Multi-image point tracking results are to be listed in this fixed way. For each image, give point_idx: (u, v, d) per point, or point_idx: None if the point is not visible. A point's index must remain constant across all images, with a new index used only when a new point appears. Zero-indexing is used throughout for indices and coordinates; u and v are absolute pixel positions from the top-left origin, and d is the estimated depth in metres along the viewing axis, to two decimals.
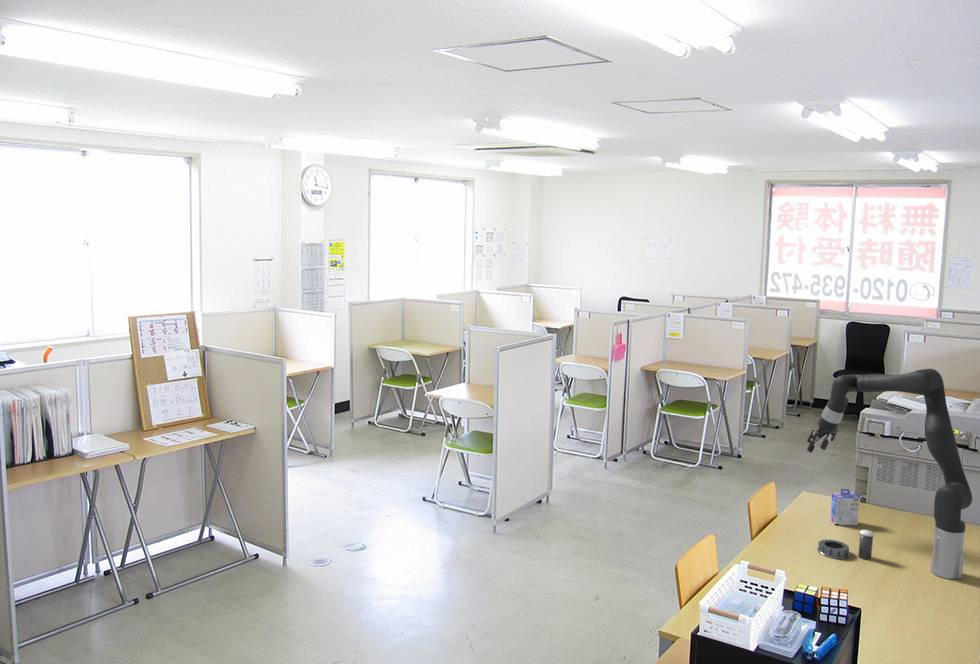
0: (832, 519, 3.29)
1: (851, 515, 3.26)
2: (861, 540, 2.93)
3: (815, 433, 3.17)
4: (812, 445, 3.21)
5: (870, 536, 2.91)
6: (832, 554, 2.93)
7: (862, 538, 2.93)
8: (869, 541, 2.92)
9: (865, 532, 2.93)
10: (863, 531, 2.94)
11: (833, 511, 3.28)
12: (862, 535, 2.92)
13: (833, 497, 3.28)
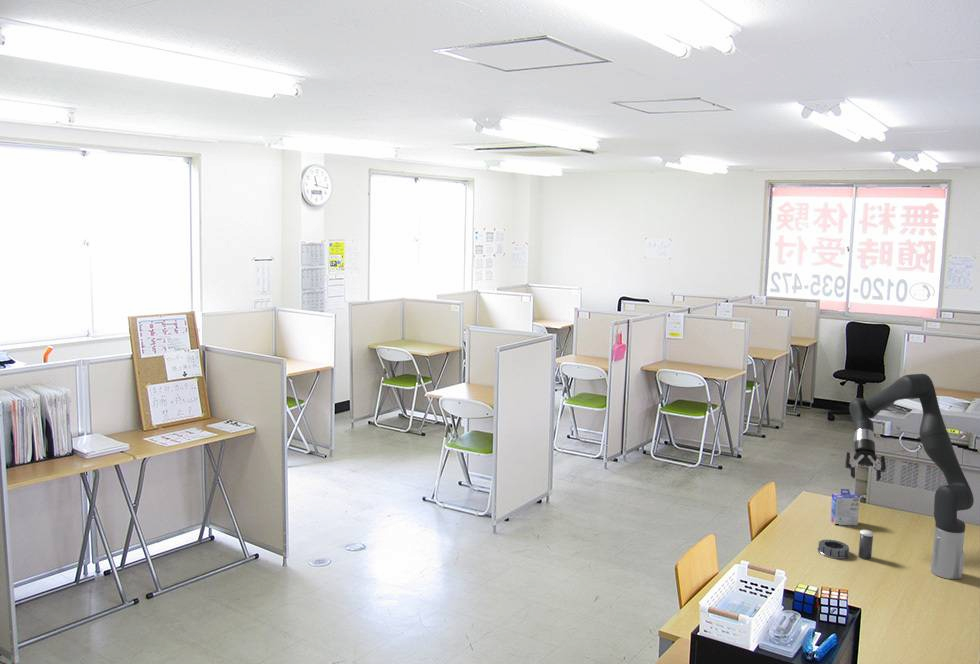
0: (832, 519, 3.29)
1: (851, 515, 3.26)
2: (861, 540, 2.93)
3: (846, 454, 3.11)
4: (851, 468, 3.07)
5: (870, 536, 2.91)
6: (832, 554, 2.93)
7: (862, 538, 2.93)
8: (869, 541, 2.92)
9: (865, 532, 2.93)
10: (863, 531, 2.94)
11: (833, 511, 3.28)
12: (862, 535, 2.92)
13: (833, 497, 3.28)
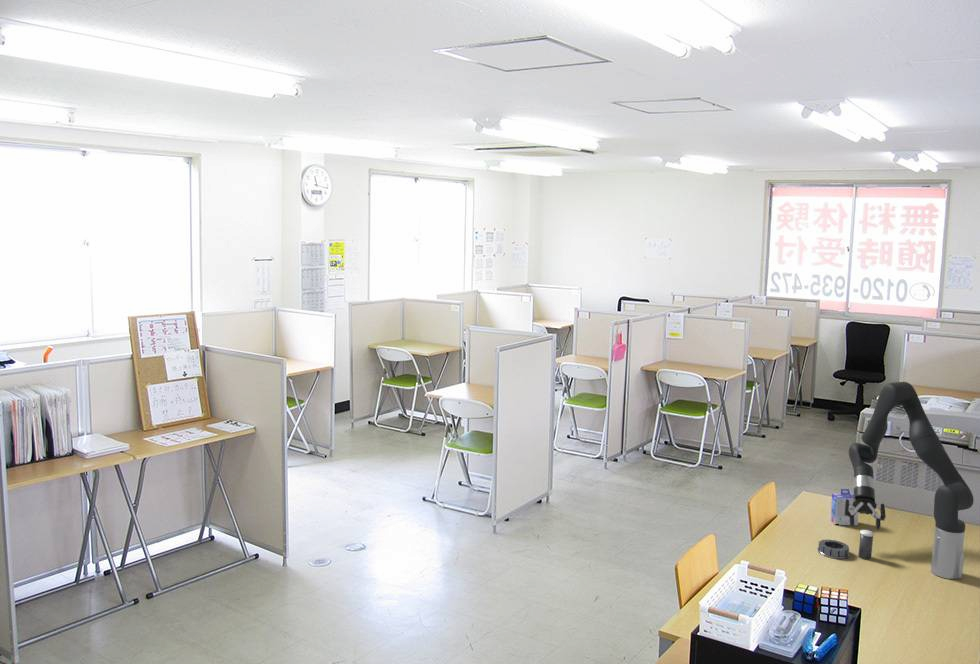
0: (832, 519, 3.29)
1: None
2: (861, 540, 2.93)
3: None
4: (850, 515, 3.01)
5: (870, 536, 2.91)
6: (832, 554, 2.93)
7: (862, 538, 2.93)
8: (869, 541, 2.92)
9: (865, 532, 2.93)
10: (863, 531, 2.94)
11: (833, 511, 3.28)
12: (862, 535, 2.92)
13: (833, 497, 3.28)
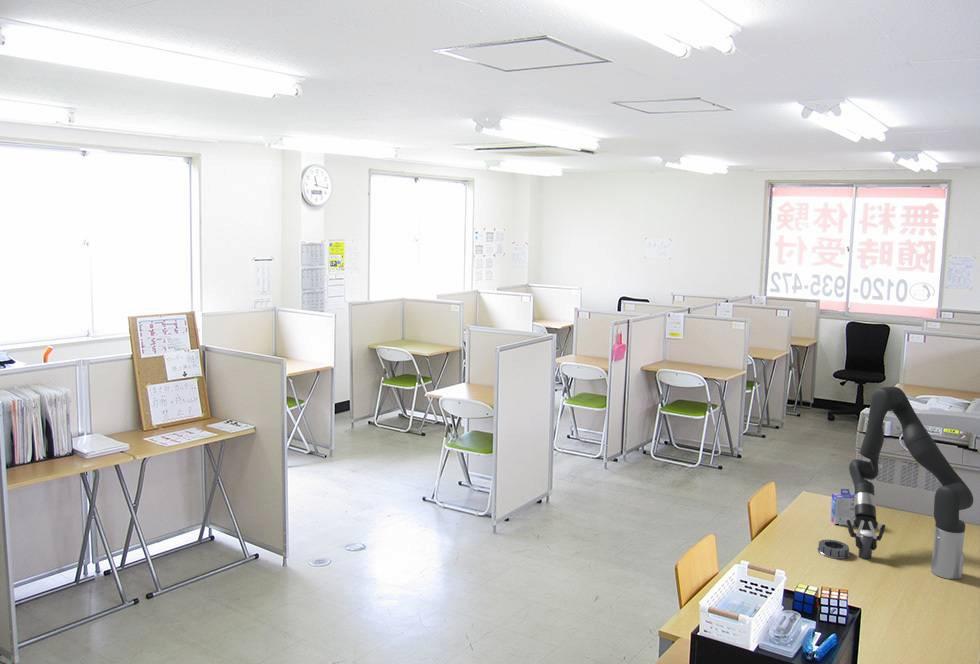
0: (832, 519, 3.29)
1: (851, 515, 3.26)
2: (861, 540, 2.93)
3: (846, 522, 2.99)
4: (856, 537, 2.95)
5: (870, 536, 2.91)
6: (832, 554, 2.93)
7: (862, 538, 2.93)
8: (869, 541, 2.91)
9: (865, 532, 2.93)
10: (863, 531, 2.94)
11: (833, 511, 3.28)
12: (862, 535, 2.92)
13: (833, 497, 3.28)
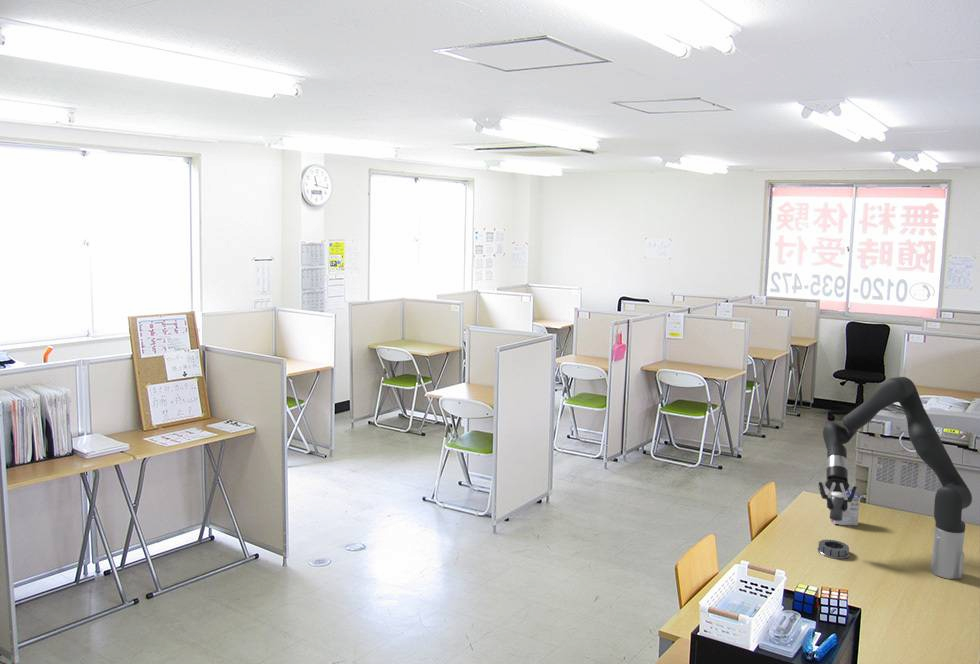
0: None
1: (851, 515, 3.26)
2: (832, 501, 2.95)
3: (818, 484, 3.01)
4: (827, 498, 2.97)
5: (841, 497, 2.93)
6: (832, 554, 2.93)
7: (833, 499, 2.94)
8: (840, 503, 2.93)
9: (836, 493, 2.95)
10: (834, 492, 2.96)
11: None
12: (833, 496, 2.94)
13: None
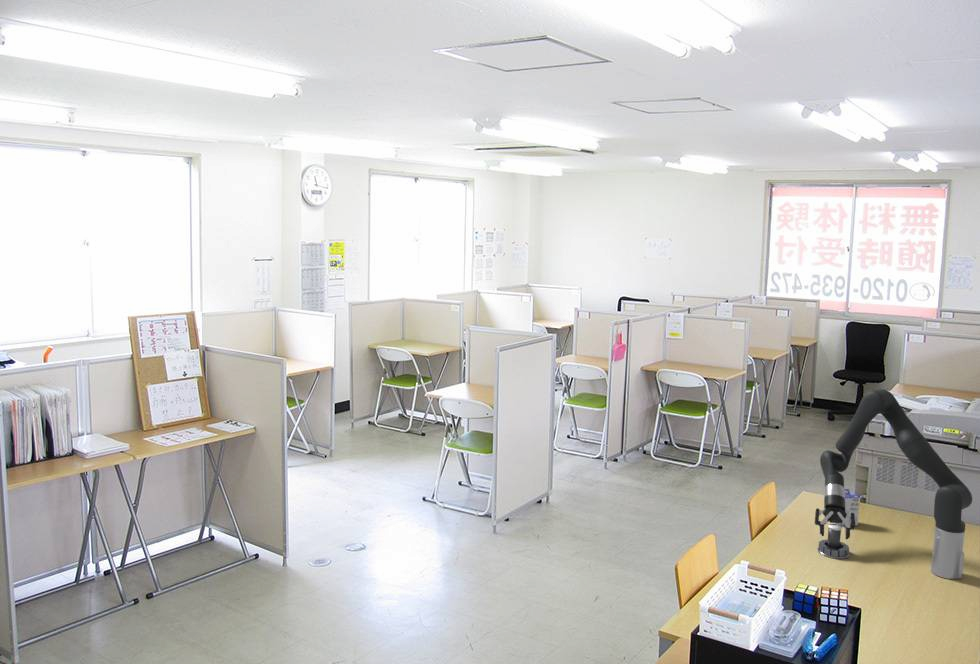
0: None
1: None
2: (829, 534, 2.97)
3: (816, 510, 3.03)
4: (820, 525, 2.99)
5: (838, 530, 2.95)
6: (832, 554, 2.93)
7: (830, 532, 2.96)
8: (837, 535, 2.95)
9: (833, 526, 2.97)
10: (831, 525, 2.98)
11: None
12: (830, 529, 2.96)
13: None
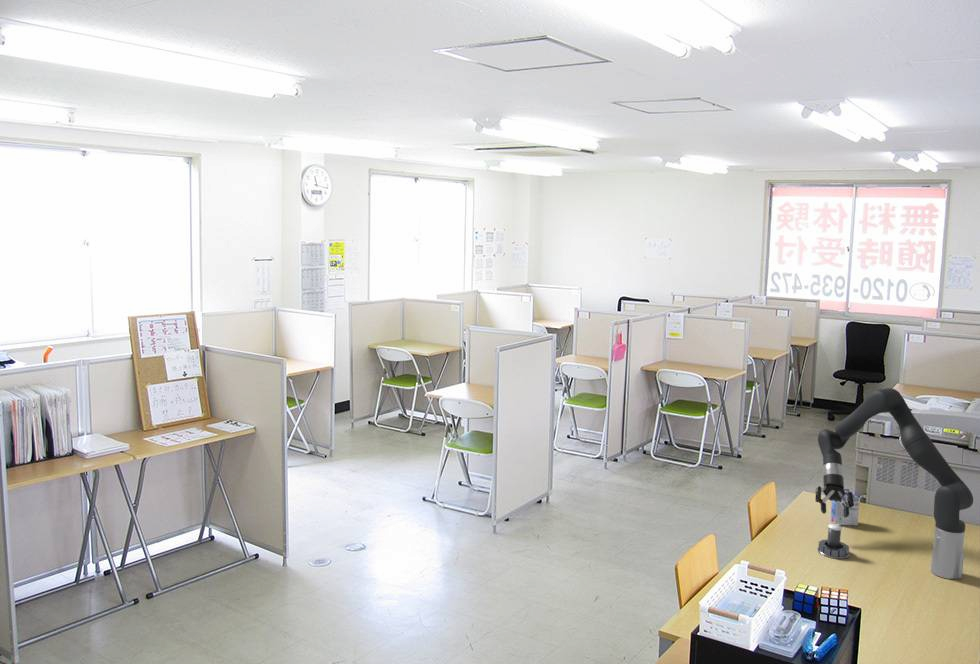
0: (832, 519, 3.29)
1: (851, 515, 3.26)
2: (829, 534, 2.97)
3: (817, 487, 3.13)
4: (822, 503, 3.10)
5: (838, 530, 2.95)
6: (832, 554, 2.93)
7: (830, 532, 2.96)
8: (837, 535, 2.95)
9: (833, 526, 2.97)
10: (831, 525, 2.97)
11: (833, 511, 3.28)
12: (830, 529, 2.96)
13: None
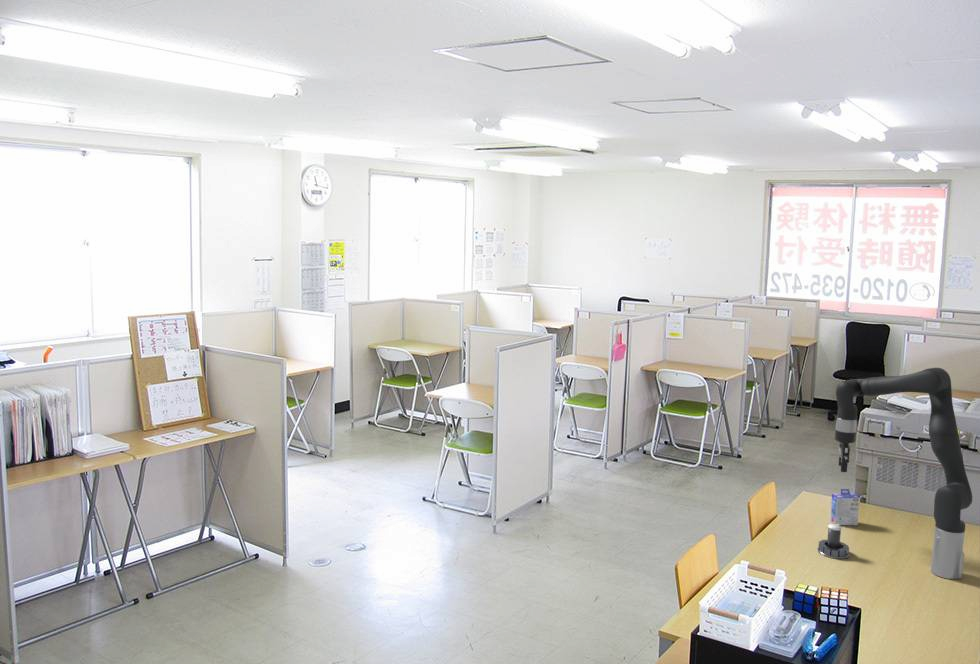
0: (832, 519, 3.29)
1: (851, 515, 3.26)
2: (829, 534, 2.97)
3: (848, 449, 3.03)
4: (846, 463, 3.06)
5: (838, 530, 2.95)
6: (832, 554, 2.93)
7: (830, 532, 2.96)
8: (836, 535, 2.95)
9: (833, 526, 2.97)
10: (831, 525, 2.97)
11: (833, 511, 3.28)
12: (830, 529, 2.96)
13: (833, 497, 3.28)
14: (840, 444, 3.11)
